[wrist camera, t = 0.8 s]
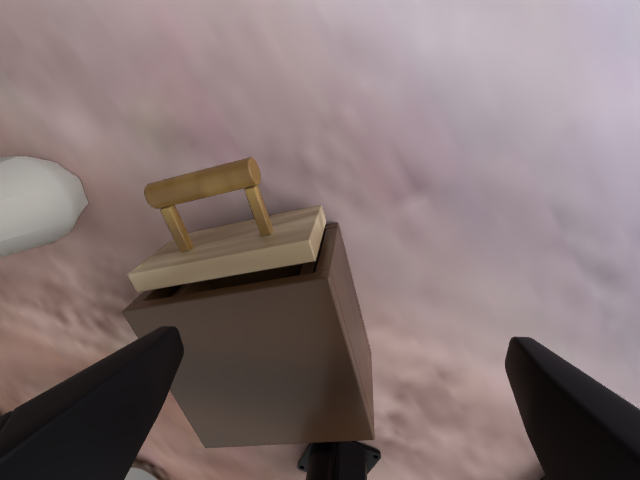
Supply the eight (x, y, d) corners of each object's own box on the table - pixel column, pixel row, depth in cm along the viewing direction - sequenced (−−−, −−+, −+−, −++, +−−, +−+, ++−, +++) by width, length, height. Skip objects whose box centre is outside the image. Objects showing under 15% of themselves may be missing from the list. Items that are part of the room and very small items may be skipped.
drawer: (150, 178, 20) (86, 203, 15) (303, 137, 18) (283, 153, 13) (231, 349, 26) (202, 407, 21) (356, 334, 24) (355, 395, 19)
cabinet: (186, 252, 23) (121, 311, 17) (338, 221, 21) (328, 277, 15) (240, 367, 28) (204, 448, 21) (371, 353, 25) (374, 440, 19)
